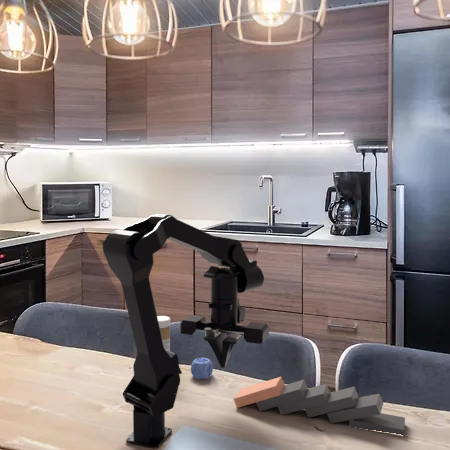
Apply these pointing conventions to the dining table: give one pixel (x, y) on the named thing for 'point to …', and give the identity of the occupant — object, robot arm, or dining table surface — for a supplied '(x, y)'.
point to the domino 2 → (285, 395)
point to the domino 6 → (380, 423)
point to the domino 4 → (335, 402)
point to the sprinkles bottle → (165, 331)
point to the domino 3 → (307, 400)
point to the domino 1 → (259, 392)
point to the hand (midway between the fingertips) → (223, 367)
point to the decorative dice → (201, 368)
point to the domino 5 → (359, 409)
